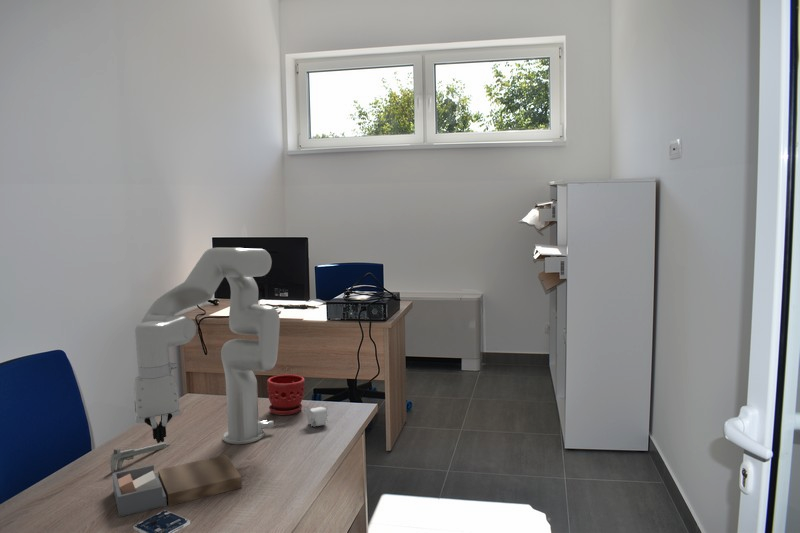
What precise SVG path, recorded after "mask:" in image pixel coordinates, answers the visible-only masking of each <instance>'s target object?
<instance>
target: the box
mask: <svg viewBox="0 0 800 533" xmlns="http://www.w3.org/2000/svg"><path fill="white" fill-rule="evenodd" d="M154 467H155V466H154V464H153V463H152V464H149V465H148V464H147V465H145V466H144V465H143V466H140V467H135V468H130V469H125V470H121V471H120V470H119V471H115V472H112V488H113V496H114V498H115V505H116V509H117V514H118V518H121V517H126V516H130V515H131V516H132V515H134V514H137V513H142V512H146V511H150V510H154V509H158V508H162V507H166V506H168V503H167V500H166V494H165V492H164V489H163V487H162V484H161V482H160V479H159V477H158V473H157V472H156V473H155V468H154ZM151 471H153V472H154V474H155V476H156V478H157V481H158V484H159V486H157V487H153V488H149V489H144V490H140V491H136V492H132V493H127V494H122V492H121V490H120V488H119V483H118V479H120V478H122V477H124V476H126V475H128V474H130V475H131V477H132V479H133V480H135V479H137V478H139V477H141V476H143V475H145V474H147V473H149V472H151Z"/></svg>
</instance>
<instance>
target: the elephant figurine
mask: <svg viewBox="0 0 800 533" xmlns="http://www.w3.org/2000/svg"><path fill="white" fill-rule="evenodd" d="M303 412H304V414H305V417H306V418H307V423H308V425H309V424H311V425H310V426H311V427H312V426H313V427H316V426H317V427H319V426H325V425H326V424H327V423H329V419H328V415H329V414H328V403H327V402H324V407H323V406H317V407H311V408H310V407H308V405H306V406H305V407H304V409H303ZM326 421H327V422H326Z"/></svg>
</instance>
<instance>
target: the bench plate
mask: <svg viewBox="0 0 800 533" xmlns="http://www.w3.org/2000/svg"><path fill="white" fill-rule="evenodd" d="M157 472H158V473H157V474H158V477H159V479H160V482H161V484H162V487H163V489H164V492H165V494H166V502H167V506H173V505H178V504H181V503H185V502H189V501H193V500H197V499H201V498H206V497H210V496H214V495H217V494H221V493H226V492H229V491H234V490H237V489H238V490H239V489H241V488H243V486H242V484H243V483H242V476H241V473H239V471H238V470H237V468H236V467H235V465H234V464H233V463H232V461H231V460H230V458H229V457H228V456H227V455H226V454H224V455H219V456H215V457H210V458H206V459H201V460H196V461H192V462H188V463H183V464H178V465H175V466H169V467H165V468H160V469H158V470H157Z"/></svg>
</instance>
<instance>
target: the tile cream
mask: <svg viewBox="0 0 800 533" xmlns="http://www.w3.org/2000/svg"><path fill="white" fill-rule="evenodd" d="M133 482H134V485H135V489H136V491H140V490H144V489H149V488H153V487H157V486H159V484H158V481H157V478H156V476H155V471H154V472H153V471H151V472H149V473H147V474H145V475H143V476H141V477H139V478H137V479H135V480H133Z"/></svg>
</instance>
